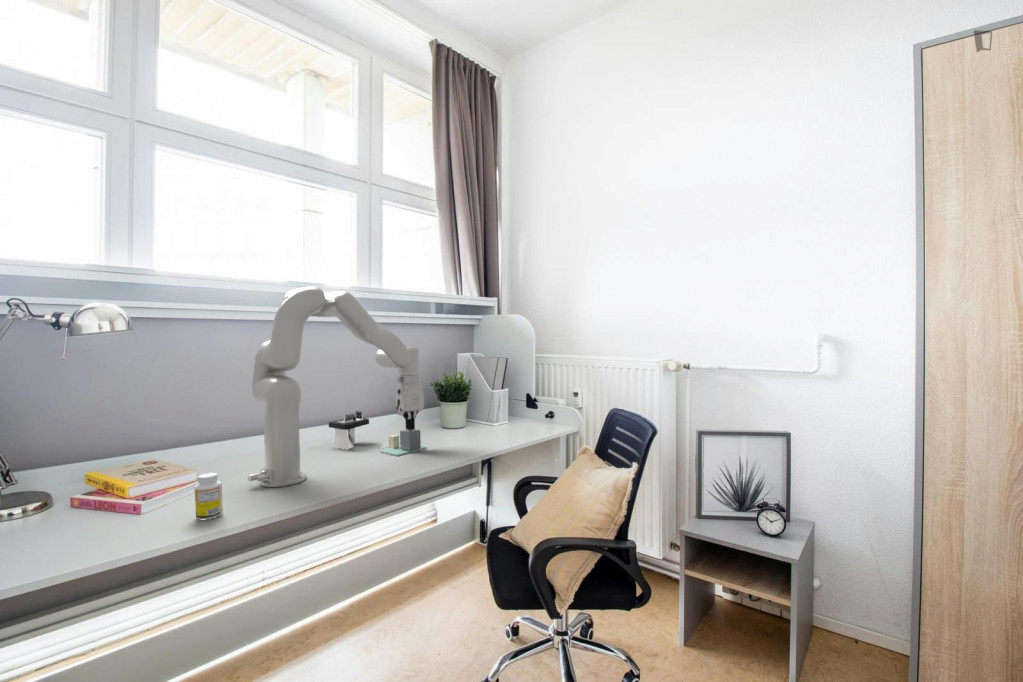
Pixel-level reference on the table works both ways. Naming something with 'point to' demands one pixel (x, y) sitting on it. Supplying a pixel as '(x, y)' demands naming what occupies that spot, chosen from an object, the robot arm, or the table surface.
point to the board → (399, 451)
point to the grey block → (410, 439)
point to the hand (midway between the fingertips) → (410, 429)
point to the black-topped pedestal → (347, 429)
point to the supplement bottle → (208, 496)
